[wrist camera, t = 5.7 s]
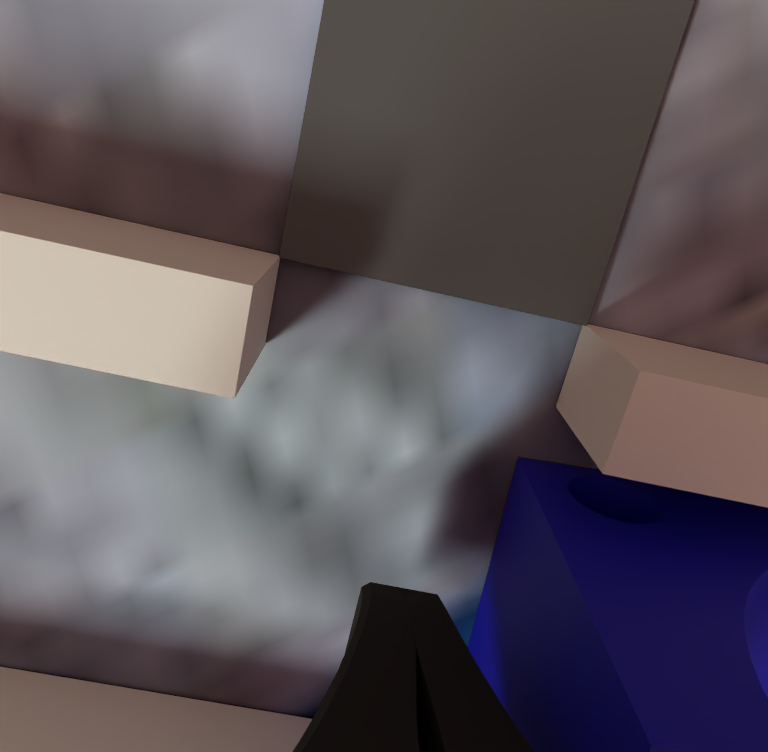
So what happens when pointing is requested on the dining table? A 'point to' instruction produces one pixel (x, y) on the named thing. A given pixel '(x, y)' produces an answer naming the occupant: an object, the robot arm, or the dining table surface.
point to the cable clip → (626, 615)
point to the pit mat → (479, 143)
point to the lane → (225, 377)
